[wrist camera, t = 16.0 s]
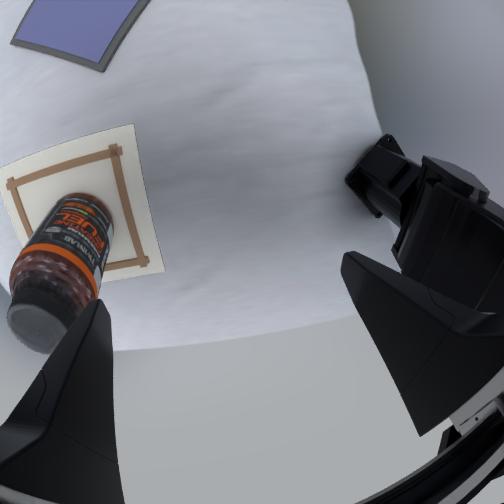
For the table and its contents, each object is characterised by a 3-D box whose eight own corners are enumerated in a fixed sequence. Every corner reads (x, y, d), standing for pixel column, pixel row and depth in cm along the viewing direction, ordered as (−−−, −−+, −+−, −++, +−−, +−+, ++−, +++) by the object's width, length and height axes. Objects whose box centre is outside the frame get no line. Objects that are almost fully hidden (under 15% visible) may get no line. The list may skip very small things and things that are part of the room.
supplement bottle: (126, 207, 20) (102, 320, 11) (102, 263, 22) (81, 377, 13) (61, 177, 17) (-10, 272, 8) (44, 238, 19) (-5, 344, 10)
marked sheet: (133, 123, 17) (132, 124, 16) (165, 270, 24) (165, 273, 24) (-5, 170, 14) (-8, 172, 14) (46, 291, 22) (45, 294, 22)
